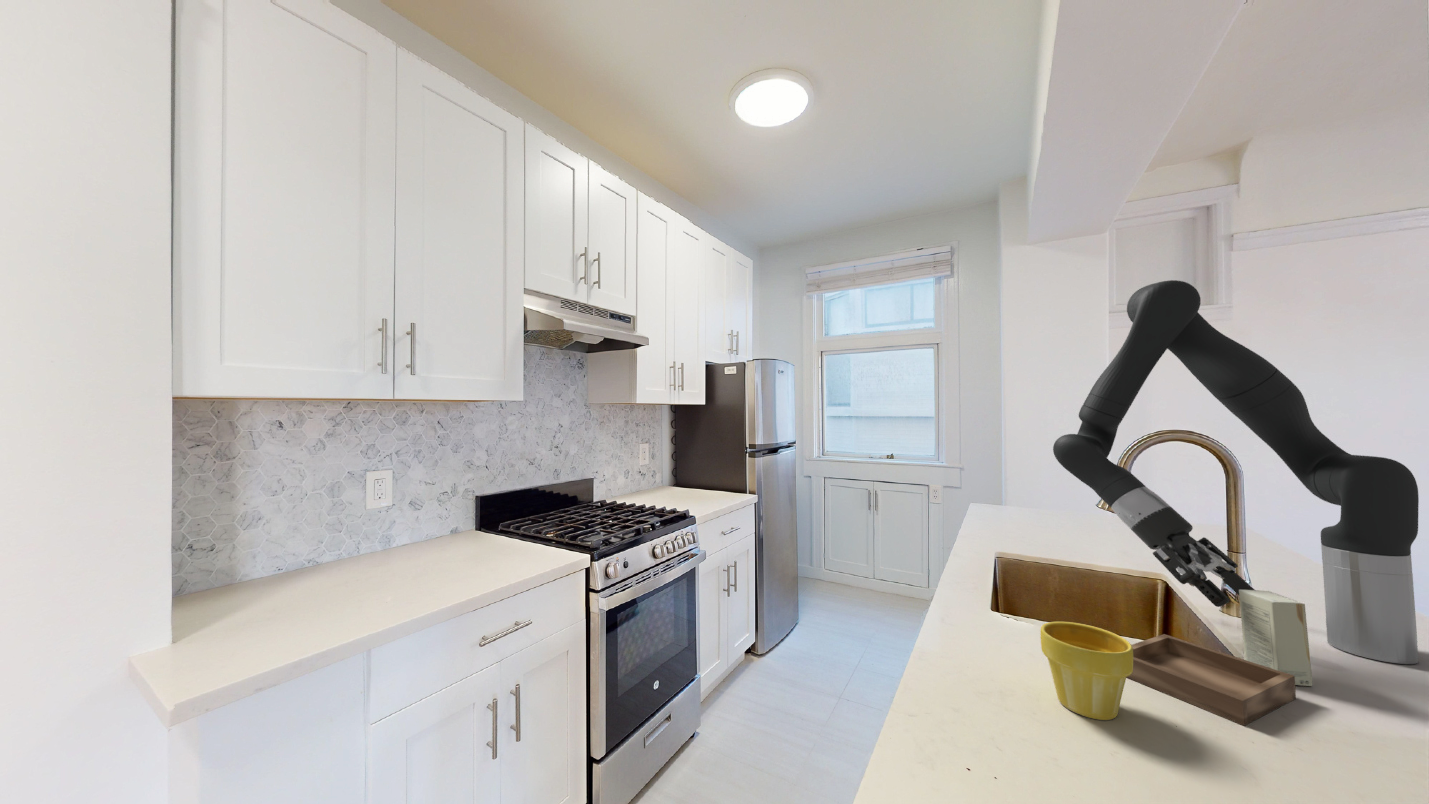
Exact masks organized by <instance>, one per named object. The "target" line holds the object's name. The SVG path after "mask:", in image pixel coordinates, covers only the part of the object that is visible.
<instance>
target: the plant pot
mask: <svg viewBox="0 0 1429 804" xmlns="http://www.w3.org/2000/svg"><path fill="white" fill-rule="evenodd" d="M1040 645H1041V647H1040V649H1041V652H1042V654H1043V655H1044V656H1045V658H1047V660H1048V665H1049V669H1050V673H1051V677H1052V680H1053V684H1054V689H1055V691H1056V696H1057V699H1058V701H1059V703H1060V704H1062V705H1061V706H1063V707H1065V708H1066V709H1067V710H1069V711H1071V712H1073V713H1076V714H1078V715H1079V716H1083V717H1086V718H1088V719H1093V720H1098V721H1099V720H1100V721H1109V720H1110V721H1111V720H1113V719H1116V717H1117V716H1118V713H1119V711H1120V705H1121V701H1122V696H1123V692H1124V688H1125V684H1126V680H1127V678H1126V677H1127V676H1129V675H1131V674H1132V672H1133V648H1132V644H1131V643H1130V642H1129V641H1128V640H1127V639H1126V638H1124V637H1122V636H1120V635H1118V634H1116V633H1114V632H1112V631H1109V630H1106V629H1103V628H1101V627H1096V626H1093V625H1088V624H1084V623H1078V622H1072V621H1071V622H1070V621H1050V622H1046V623H1044V624H1042V625H1041V626H1040Z"/></svg>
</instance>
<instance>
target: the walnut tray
mask: <svg viewBox="0 0 1429 804" xmlns="http://www.w3.org/2000/svg"><path fill="white" fill-rule="evenodd" d="M1131 645H1132V648H1133V672H1132V674H1131V675H1129V676H1127V677H1126V679H1129V680H1131V681H1134V682H1137V683H1138V684H1141V685H1144V686H1146V687H1148V688H1151V689H1153V690H1156V691H1158V692H1161V693H1162V694H1165V695H1167V696H1170V697H1173V698H1175V699H1178V700H1180V701H1183V702H1185V703H1186V704H1189V705H1192V706H1195V707H1197V708H1200V709H1202V710H1204V711H1207V712H1210V713H1211V714H1214V715H1216V716H1219V717H1221V718H1223V719H1226V720H1228V721H1231V722H1233V723H1236V724H1239V725H1241V726H1244V727H1245V726H1246V725H1249V724H1250V723H1253V722H1254V721H1257V720H1258V719H1260V718H1262V717H1264V716H1266V715H1267V714H1270V713H1271V712H1273V711H1275V710H1277V709H1279V708H1280V707H1283V706H1285V705H1286V704H1289V703H1291V702H1293V701H1294V700H1296V698H1297V694H1296V693H1297V692H1296V685H1295V676H1294V675H1290V674H1287V673H1284V672H1281V671H1278V670H1275V669H1272V668H1269V667H1266V666H1262V665H1259V664H1256V663H1253V662H1250V661H1247V660H1245V658H1244V659H1243V658H1240V657H1237V656H1234V655H1230V654H1227V653H1226V652H1225V653H1224V652H1222V651H1218V650H1216V649H1212V648H1208V647H1207V646H1206V647H1205V646H1202V645H1199V644H1197V643H1195V642H1194V643H1193V642H1190V641H1186V640H1184V639H1181V638H1178V637H1174V636H1172V635H1169V634H1165V633H1163V634H1160V635H1156V636H1154V637H1151V638H1148V639H1144V640H1142V641H1139V642H1136V643H1133V644H1131Z"/></svg>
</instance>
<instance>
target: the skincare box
mask: <svg viewBox="0 0 1429 804" xmlns="http://www.w3.org/2000/svg"><path fill="white" fill-rule="evenodd" d="M1238 596H1239V607H1240V619H1241V620H1240V621H1241V633H1242V645H1243V654H1244V660H1247V661H1250V662H1253V663H1256V664H1259V665H1262V666H1266V667H1269V668H1272V669H1275V670H1278V671H1281V672H1284V673H1287V674H1290V675H1294V676H1295V686H1302V687H1303V686H1305V687H1313V677H1312V668H1311V667H1312V664H1311V656H1310V655H1311V654H1310V653H1311V652H1310V644H1309V634H1308V633H1309V632H1308V624H1307V622H1308V621H1307V612H1306V604H1305V602H1301V601H1298V600H1296V599H1294V598H1293V599H1292V598H1290V597H1287V596H1284V595H1281V594H1278V593H1275V592H1272V591H1271V590H1260V589H1259V590H1255V589H1254V590H1239V595H1238Z"/></svg>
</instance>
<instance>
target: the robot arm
mask: <svg viewBox="0 0 1429 804" xmlns="http://www.w3.org/2000/svg"><path fill="white" fill-rule="evenodd" d="M1200 307H1201V295H1200V292H1199V291H1198V290H1197V288H1196V287H1195V286H1193V285H1192V284H1190V283H1189V282H1186V281H1183V280H1172V279H1171V280H1164V281H1162V280H1161V281H1159V282H1155V283H1151V284H1148V285H1145V286H1143V287H1141V288H1139V289H1137V290H1136V291H1135V292H1133V294H1132V295H1131V296H1130V297H1129V299H1128V300H1127V304H1126V313H1127V317H1128V319H1129V320H1130V322H1131V323H1132V325H1131V327H1130V330H1129V332H1128V335H1127V336H1126V339H1125V340H1124V343H1123V344H1122V346H1121V347H1120V349H1119V350H1118V352H1117V354H1116V355H1115V357H1113V359H1112V360H1111V362H1110V363H1109V365H1108V366H1107V367H1106V368H1105V369H1104V370H1103V372H1102V373H1101V374H1100V375H1099V376H1098V378H1097V380H1095V382H1094V384H1093V386H1092V388H1091V389H1090V391H1089V393H1088V394H1087V396H1086V398H1085V399H1084V402H1083V404H1082V405H1081V407H1080V409H1079V412H1078V418H1079V420H1080V421H1081V424H1080V426H1079V429H1078V431H1077V433H1068V434H1064V435H1060V436H1059V437H1058V438H1057V439H1056V440H1055V441H1054V444H1053V447H1052V451H1053V454H1054V457H1055V460H1056V461H1057V462H1058V463H1059V464H1060V465H1061V466H1062V467H1063V468H1064V469H1066V471H1068V472H1069V474H1071V475H1072V476H1074V477H1076V478H1077V479H1078V480H1079V481H1080V482H1081V483H1083V484H1085V485H1086V486H1087V487H1089V488H1090V489H1092V491H1094V492H1095V493H1096V495H1098V497H1099V498H1100V499H1101V500H1102V501H1103V502H1105V503H1106V505H1107V506H1109V507H1110V509H1111V510H1113V512H1114V513H1115V514H1116V516H1117V517H1118V518H1119V520H1121V522H1123V523H1124V524H1125V525H1126V526H1127V527H1128V528H1129V529H1130V531H1132V532H1133V533H1134V534H1135V535H1136V536H1137V537H1138V538H1139V539H1140V540H1141V541H1142V542H1143V543H1144V544H1145V545H1146V546H1147V547H1148V548H1149V549H1150V550H1154V551H1153V552H1152V555H1153V556H1154V557H1155V558H1156V559H1157V560H1158V562H1160V564H1161V565H1162V566H1164V568H1165V569H1166V570H1167V571H1168V572H1169V573H1170V574H1171V575H1172V576H1173V577H1174V578H1175V579H1176V580H1177V581H1178V582H1179V583H1180V584H1182V585H1185V584H1189V585H1190V586H1191V587H1195V588H1196V589H1197V590H1198V591H1199V592H1200V593H1201V594H1202V595H1203V596H1204V597H1205V598H1206V599H1207V600H1208V601H1209V602H1210V603H1211V604H1213V605H1214V606H1215V607H1216V608H1219V607H1223V606H1225V605H1227V604H1228V603H1230V602H1231V599H1230V597H1228V595H1227V594H1226V593H1224V591H1222V589H1220V588H1219V586H1217V585H1216V584H1215V583H1214V582H1213V581H1212V580H1210V579H1208V576H1207V575H1206V573H1207V572H1208V573H1209V572H1210V573H1211V574H1213V575H1215V576H1216V577H1218V578H1220V579H1222V581H1223V583H1225V585H1227V586H1228V587H1229V588H1230V589H1231V590H1232V591H1233V592H1234V593H1235V594H1236V595H1238V596H1239V590H1255V589H1254V588H1253V587H1252V586H1251V585H1250V584H1249V583H1248V582H1247V581H1246V580H1244V579H1243V577H1241V575H1239V574H1238V573H1237V569H1236V568H1238V567H1239V566H1238V564H1237V562H1234V560H1233V559H1232V558H1230V557H1229V556H1228V555H1226V553H1225V552H1224V551H1222V550H1221V549H1219V548H1218V547H1217V546H1216V545H1215V544H1214V543H1213V542H1212V541H1210V540H1209V539H1208V538H1207V537H1204V536H1203V537H1201V538H1200V539H1198V540H1197V539H1195V538H1194V537H1192V536H1191V535H1190V533H1191V532H1192V531H1193V529H1194V528H1193V525H1192V524H1191V523H1190V522H1189V521H1188V520H1187V519H1185V518H1184V517H1183V516H1182V515H1181V514H1179V512H1177V510H1175V509H1174V508H1173V507H1172V506H1171V505H1170V504H1169V503H1167V501H1165V500H1164V499H1163V498H1162V497H1161V496H1160V495H1158V494H1157V493H1155V492H1154V491H1153V490H1151V489H1150V488H1148V487H1147V486H1146V485H1145V483H1143V482H1142V481H1141V480H1140V479H1138V477H1136V476H1135V475H1134V474H1132V472H1131V471H1129V470H1128V469H1126V468H1124V467H1123V466H1120V465H1118V464H1116V463H1114V462H1112V461H1111V460H1109V458H1108V457H1109V455H1110V453H1111V451H1112V449H1113V445H1114V443H1115V439H1116V436H1117V433H1118V429H1119V426H1120V424H1121V422H1122V421H1123V419H1124V418H1125V416H1126V414H1127V413H1128V411H1129V409H1130V407H1131V406H1132V405H1133V402H1134V401H1135V399H1136V397H1137V395H1138V393H1139V392H1140V390H1141V388H1142V387H1143V386H1144V384H1145V382H1146V380H1147V378H1148V377H1149V375H1150V374H1151V372H1152V371H1153V369H1154V368H1155V366H1156V365H1157V364H1158V362H1159V360H1161V357H1162V356H1163V355H1164V354H1165V352H1166V351H1167V350H1168V351H1170V352H1171V353H1172V354H1173V355H1174V356H1175V357H1176V358H1177V359H1178V360H1179V361H1180V362H1181V363H1182V364H1183V365H1184V366H1185V368H1186V369H1187V370H1188V371H1189V372H1190V374H1191V375H1193V377H1195V378H1196V380H1198V381H1199V383H1201V385H1202V386H1203V387H1205V389H1206V390H1207V391H1208V392H1210V394H1212V396H1213V397H1214V398H1215V399H1216V400H1218V402H1220V404H1221V405H1223V406H1224V407H1225V408H1226V409H1227V410H1228V411H1229V412H1231V414H1233V415H1234V416H1235V417H1236V418H1237V419H1239V420H1240V421H1241V422H1242V423H1243V424H1244V425H1246V427H1247V428H1248V429H1250V430H1251V431H1252V432H1253V433H1254V434H1255V435H1256V436H1257V437H1258V438H1259V439H1261V440H1262V441H1263V443H1265V444H1266V445H1267V446H1269V447H1270V449H1272V451H1273V452H1275V453H1276V454H1277V456H1278V457H1279V458H1280V459H1281V460H1282V462H1283V463H1284V464H1285V465H1286V466H1287V467H1288V469H1289V470H1290V471H1291V472H1292V473H1293V474H1294V476H1296V478H1297V479H1298V480H1299V481H1300V482H1301V484H1302V485H1303V486H1304V487H1305V489H1306V490H1308V492H1310V493H1311V494H1313V496H1315V497H1317V498H1318V499H1319V500H1321V501H1324V502H1326V503H1329V504H1332V505H1335V506H1340V518H1339V521H1338V522H1337V523H1336V524H1335V525H1331V526H1325V527H1323V528H1322V529H1321V530H1320V544H1321V545H1320V547H1321V548H1320V549H1321V561H1322V562H1321V563H1322V575H1323V577H1322V578H1323V589H1324V605H1325V624H1326V625H1325V627H1326V640H1327V641H1328V642H1327V641H1326V642H1327V643H1328V644H1329V645H1331V646H1332V647H1335V648H1336V649H1338V650H1340V651H1343V652H1345V653H1349V654H1351V655H1355V656H1360V657H1363V658H1366V659H1370V660H1375V661H1381V662H1386V663H1393V664H1401V665H1413V664H1414V665H1415V664H1418V663H1419V651H1418V650H1419V648H1418V646H1419V645H1418V629H1417V619H1416V618H1417V616H1416V605H1415V604H1416V603H1415V591H1414V576H1413V574H1414V573H1413V564H1412V555H1411V554H1412V549H1411V548H1412V545H1413V544H1414V541H1415V540H1416V539H1417V537H1418V533H1419V505H1420V503H1419V497H1420V496H1419V487H1418V484H1417V480H1416V477H1415V476H1414V475H1413V473H1412V470H1410V469H1409V468H1408V467H1407V466H1406V465H1405V464H1403V463H1401V462H1400V461H1398V460H1395V459H1392V458H1387V457H1382V456H1373V455H1371V456H1370V455H1360V454H1359V455H1358V454H1350V453H1348V452H1347V451H1346V450H1344V449H1343V448H1341V447H1340V446H1338V445H1337V444H1336V443H1335V442H1333V441H1332V440H1331V439H1330V438H1328V437H1327V436H1326V435H1325V434H1323V432H1322V431H1321V430H1320V429H1319V428H1318V427H1317V426H1316V425H1315V424H1314V422H1313V420H1312V418H1311V415H1310V412H1309V408H1308V405H1307V402H1306V399H1305V397H1304V395H1303V393H1302V391H1301V390H1300V389H1299V388H1298V386H1297V385H1296V384H1295V383H1294V382H1293V381H1292V380H1291V379H1289V378H1288V377H1287V376H1286V375H1285V374H1284V373H1283V372H1281V370H1279V369H1278V368H1277V367H1276V366H1275V365H1273V364H1272V363H1271V362H1269V360H1267V359H1266V358H1265V357H1262V355H1260V354H1258V353H1256V352H1255V351H1253V350H1252V349H1250V348H1248V347H1246V346H1245V345H1243V344H1241V343H1239V342H1237V341H1236V340H1233V339H1232V338H1230V337H1228V336H1227V335H1225V334H1223V333H1222V332H1220V331H1219V330H1217V329H1216V328H1215V327H1214V326H1212V325H1211V324H1210V323H1209V322H1208V321H1207V320H1206V319H1205V318H1204V317H1203V316H1202V315H1201V314H1200V313H1199V310H1200ZM1119 513H1120V514H1119ZM1205 572H1206V573H1205Z"/></svg>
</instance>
